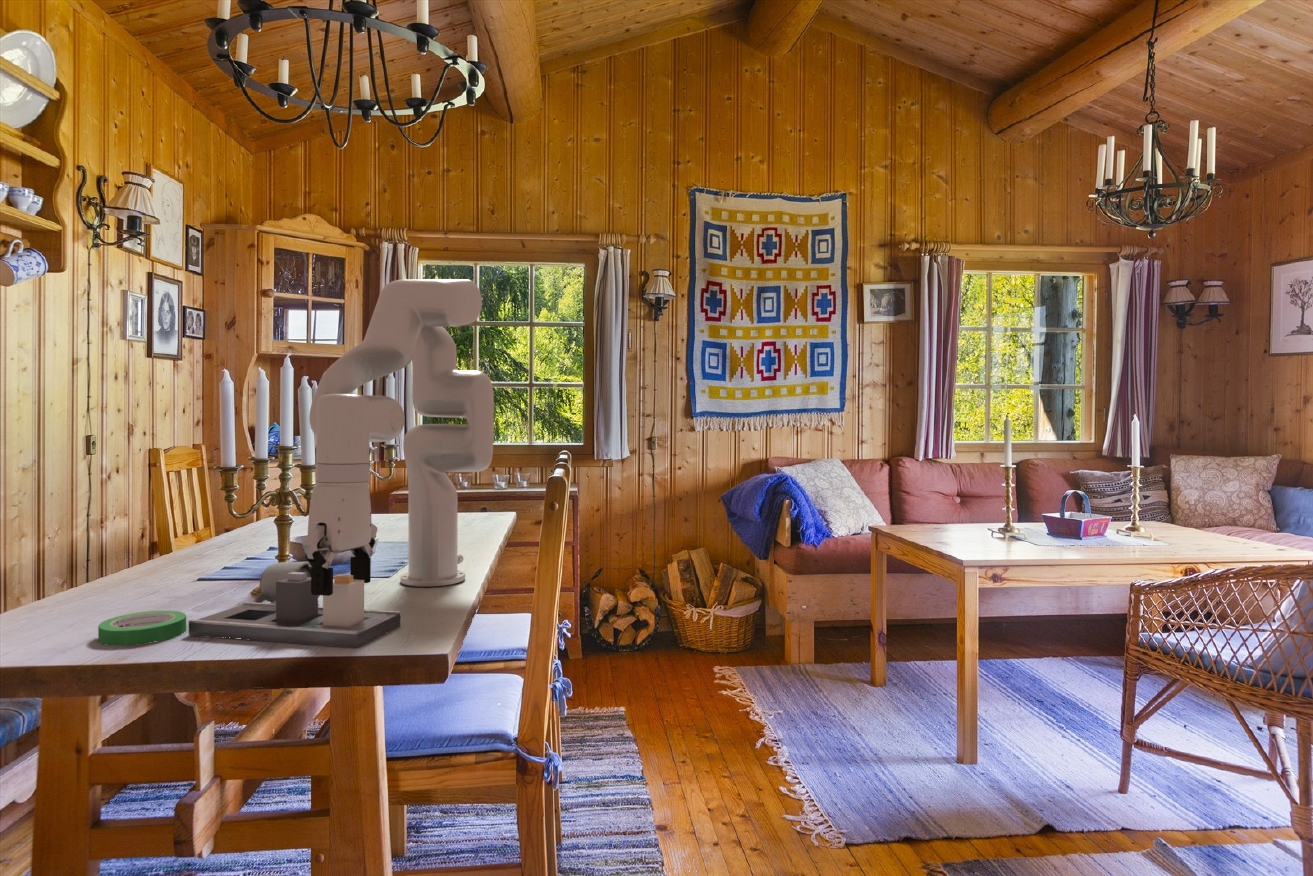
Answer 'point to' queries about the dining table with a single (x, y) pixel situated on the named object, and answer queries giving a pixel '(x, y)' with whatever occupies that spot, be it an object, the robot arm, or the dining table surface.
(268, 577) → the ceramic mug
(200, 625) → the panel
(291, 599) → the matte charcoal box
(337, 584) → the white block orange tab
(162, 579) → the dining table surface
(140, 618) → the tape roll
